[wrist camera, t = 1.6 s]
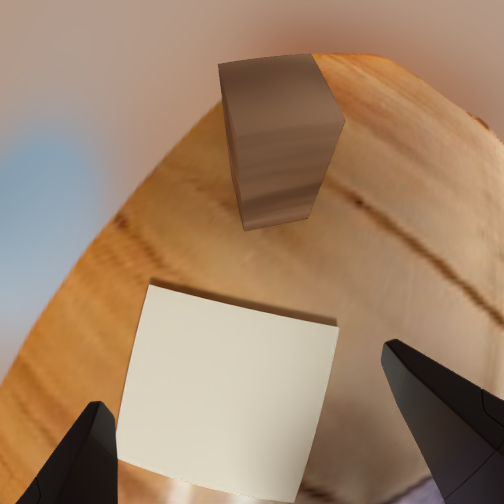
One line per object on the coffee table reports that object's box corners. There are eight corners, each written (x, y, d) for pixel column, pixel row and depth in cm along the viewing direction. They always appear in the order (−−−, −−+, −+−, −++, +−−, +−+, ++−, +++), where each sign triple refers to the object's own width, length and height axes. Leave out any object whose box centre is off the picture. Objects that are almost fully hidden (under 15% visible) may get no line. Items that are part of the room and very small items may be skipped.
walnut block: (307, 218, 25) (345, 120, 13) (244, 231, 25) (236, 135, 13) (290, 164, 26) (310, 53, 15) (231, 175, 26) (218, 64, 14)
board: (337, 327, 22) (339, 327, 22) (293, 499, 19) (293, 502, 18) (151, 285, 23) (149, 284, 23) (115, 454, 20) (112, 456, 19)
